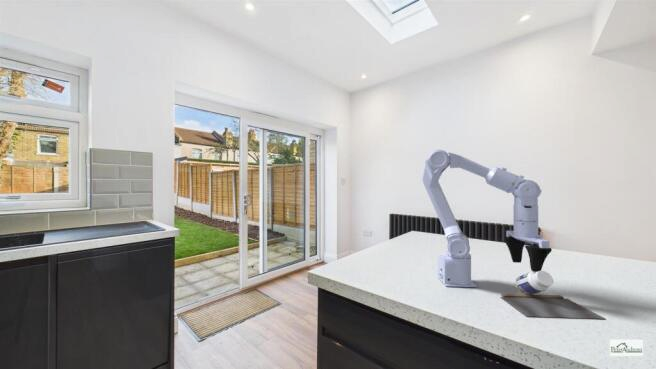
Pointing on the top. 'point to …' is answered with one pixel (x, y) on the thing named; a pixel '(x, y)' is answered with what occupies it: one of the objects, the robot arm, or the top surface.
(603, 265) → the top surface
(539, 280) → the pill bottle
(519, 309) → the dark grey mat
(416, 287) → the top surface
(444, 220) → the robot arm
